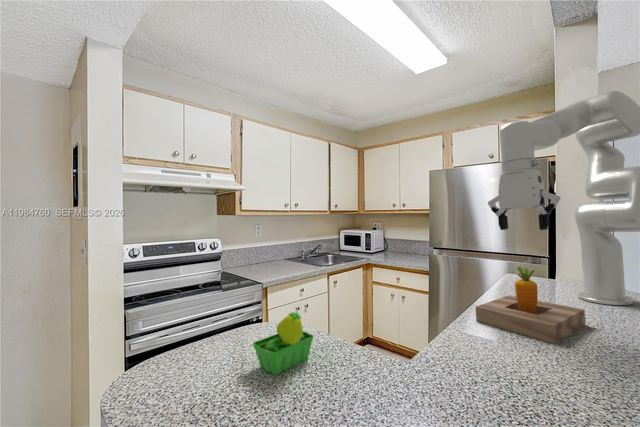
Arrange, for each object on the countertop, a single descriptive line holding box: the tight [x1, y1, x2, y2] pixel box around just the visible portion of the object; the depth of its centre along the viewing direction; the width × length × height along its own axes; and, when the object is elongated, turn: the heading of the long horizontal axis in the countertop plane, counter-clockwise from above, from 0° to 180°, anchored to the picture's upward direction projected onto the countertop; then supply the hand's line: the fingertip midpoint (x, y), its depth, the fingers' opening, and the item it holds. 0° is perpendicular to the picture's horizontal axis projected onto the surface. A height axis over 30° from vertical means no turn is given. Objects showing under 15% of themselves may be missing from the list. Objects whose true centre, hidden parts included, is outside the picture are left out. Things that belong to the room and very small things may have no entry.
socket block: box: [474, 294, 586, 344], centre depth 76 cm, size 18×18×4 cm
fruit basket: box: [252, 311, 314, 376], centre depth 61 cm, size 11×9×11 cm
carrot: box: [514, 265, 539, 314], centre depth 77 cm, size 5×5×15 cm
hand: (523, 229), depth 79 cm, fingers open, 9 cm apart
